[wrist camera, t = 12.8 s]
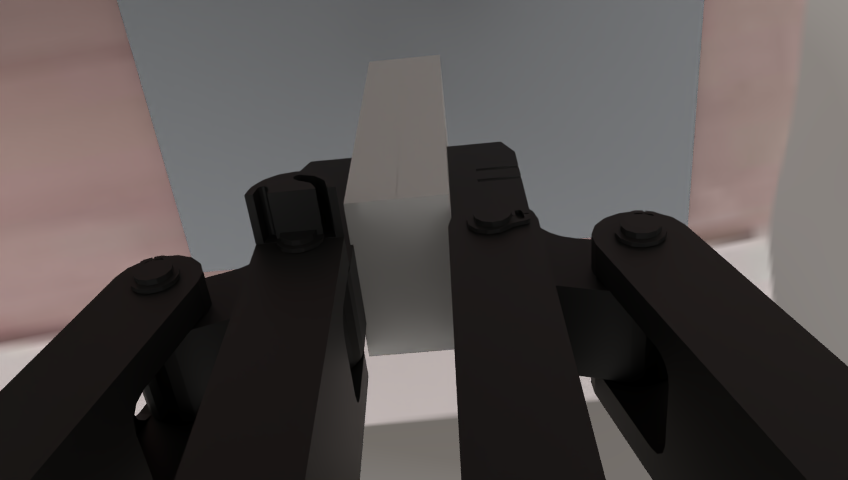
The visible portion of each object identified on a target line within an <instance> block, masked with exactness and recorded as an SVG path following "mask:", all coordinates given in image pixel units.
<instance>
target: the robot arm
mask: <svg viewBox="0 0 848 480" xmlns="http://www.w3.org/2000/svg"><path fill="white" fill-rule="evenodd" d="M244 197H245V201H246V205H247V209H248V214H249V218H250V222H251V226H252V231H253V235H254V239H255V243H256V246H255V249H254V252H253V255H252V258H251V260H250V263H249V264H248V265H246V266H244V267H242V268H239V269H236V270H232V271H229V272H226V273H222V274H218V275H214V276H211V277H207V278H205V277H204V273H203V269H202V266H201V263H199V262H198V261H196V260H195V259H193V258H191V257H185V256H180V255H175V256H157V257H154V259H152V258H149V259H146V260H143V261H141V262H140V263H138V264H136V265H134V266H132V267H130V268H127V269H126V270H125V271H123V272H122V273H121V274H119V275H118V276H117V277H115V278H114V279H113V280H112V281H111V282H110V283H109V284H108V285H107V286H106V287H105V288H104V289H103V290H102V291H101V292H100V293H99V294H98V295H97V296H96V297H95V298H94V299H93V300H92V301H91V302H90V303H89V304H88V305H87V306H86V307H85V308H84V309H83V310H82V311H81V312H80V313H79V314H78V315H77V316H76V317H75V318H74V319H73V320H72V321H71V322H70V323H69V324H68V325H67V326H66V327H65V328H64V329H63V330H62V331H61V332H60V333H59V334H58V335H57V336H56V337H55V338H54V339H53V340H52V341H51V342H50V343H49V344H48V345H47V346H46V347H45V348H44V349H43V350H42V351H41V352H40V353H39V354H38V355H37V356H36V357H35V358H33V359H32V360H31V361H30V362H29V363H28V364H27V365H26V366H25V367H24V368H23V369H22V370H21V371H20V372H19V373H18V374H17V375H16V376H15V377H14V378H13V379H12V380H11V381H10V382H9V383H8V384H7V385H6V386H5V387H4V388H3V389H2V390H1V391H0V480H360V471H361V459H362V447H363V435H364V423H365V411H366V399H367V387H368V371H367V366H366V360H365V354H364V345H365V335H366V340H367V345H368V351H369V356H379V355H391V354H404V353H416V352H428V351H440V350H452V349H455V368H456V386H457V405H458V424H459V441H460V442H459V443H460V461H461V480H606V479H605V475H604V471H603V467H602V463H601V460H600V456H599V452H598V448H597V444H596V440H595V437H594V432H593V429H592V425H591V421H590V417H589V413H588V409H587V405H586V401H585V398H584V394H583V390H582V386H581V382H580V378H579V376H585V377H591V383H592V386H593V389H594V392H595V394H596V396H597V397H598V399H599V400H600V402H601V403H602V405H603V406H604V408H605V409H606V411H607V412H608V414H609V415H610V417H611V418H612V419H613V421H614V423H615V424H616V425H617V427H618V429H619V430H620V432H621V433H622V435H623V436H624V437H625V439H626V440H627V442H628V444H629V445H630V447H631V448H632V449H633V451H634V453H635V454H636V456H637V457H638V458H639V460H640V461H641V463H642V465H643V466H644V468H645V469H646V470H647V472H648V473H649V475H650V476H651V478H652V479H653V480H848V366H846V365H845V363H843V362H842V361H841V360H840V359H839V358H838V357H836V356H835V355H834V354H833V353H832V352H831V351H830V350H828V349H827V348H826V347H825V346H824V345H823V344H822V343H820V342H819V341H818V340H817V339H816V338H815V337H814V336H812V335H811V334H810V333H809V332H808V331H807V330H806V329H804V328H803V327H802V326H801V325H800V324H799V323H797V322H796V321H795V320H794V319H793V318H792V317H791V316H789V315H788V314H787V313H786V312H785V311H784V310H783V309H781V308H780V307H779V306H778V305H777V304H776V303H775V302H773V301H772V300H771V299H770V298H769V297H768V296H766V295H765V294H764V293H763V292H762V291H761V290H760V289H758V288H757V287H756V286H755V285H754V284H753V283H752V282H750V281H749V280H748V279H747V278H746V277H745V276H744V275H742V274H741V273H740V272H739V271H738V270H737V269H736V268H734V267H733V266H732V265H731V264H730V263H729V262H727V261H726V260H725V259H724V258H723V257H722V256H721V255H719V254H718V253H717V252H716V251H715V250H714V249H713V248H711V247H710V246H709V245H708V244H707V243H706V242H705V241H703V240H702V239H701V238H700V237H699V236H698V235H697V234H695V233H694V232H693V231H692V230H691V229H690V228H688V227H687V226H686V225H685V224H683V223H682V222H680V221H678V220H677V219H675V218H673V217H671V216H667V215H663V214H660V213H656V212H654V211H646V210H645V212H644V211H643V210H634V211H631V212H623V213H618V214H615V215H612V216H609V217H606V218H604V219H602V220H601V221H600V222H598V223H597V224H596V225H595V226H594V229H593V231H592V234H591V240H590V239H578V238H571V237H564V236H560V235H556V234H553V233H550V232H548V231H546V230H544V229H542V228H541V227H540V223H539V219H538V218H537V216H536V215H535V213H534V212H533V211H532V210H530V209H529V206H528V202H527V198H526V194H525V190H524V186H523V182H522V178H521V174H520V170H519V167H518V162H517V158H516V154H515V151H513V150H512V149H510V148H509V147H508V146H506V145H505V144H504V143H502V142H501V141H500V142H490V143H479V144H469V145H458V146H448V138H447V128H446V117H445V106H444V96H443V85H442V74H441V64H440V55H432V56H422V57H412V58H402V59H392V60H382V61H372V62H369V66H368V72H367V77H366V83H365V88H364V94H363V99H362V105H361V110H360V116H359V121H358V127H357V132H356V138H355V143H354V149H353V154H352V158H343V159H333V160H322V161H312V162H310V163H308V164H307V165H306V166H305V167H304V168H303V169H302V170H300V171H295V172H290V173H284V174H278V175H276V176H273V177H270V178H267V179H264V180H262V181H260V182H259V183H257V184H255V185H254V186H252V187H251V188H250V189H249V190H248V191H247V192H246V194H245V195H244ZM142 392H143V395H144V397H145V400H146V403H147V404H146V405H145V406H144V408H143V409H142V410H141V412H140V413H139V414H138V415H136V416H135V415H134V414H135V408H136V403H137V401H138V399H139V397H140V396H141V394H142Z"/></svg>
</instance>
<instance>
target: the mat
mask: <svg viewBox="0 0 848 480" xmlns="http://www.w3.org/2000/svg"><path fill="white" fill-rule="evenodd" d="M117 2H118V6H119V9H120V13H121V16H122V20H123V23H124V26H125V30H126V33H127V37H128V40H129V44H130V47H131V50H132V54H133V57H134V61H135V64H136V68H137V71H138V75H139V78H140V81H141V85H142V88H143V92H144V95H145V99H146V102H147V106H148V109H149V112H150V116H151V119H152V123H153V126H154V130H155V133H156V136H157V140H158V143H159V147H160V150H161V154H162V157H163V161H164V164H165V167H166V171H167V174H168V178H169V181H170V185H171V188H172V191H173V195H174V198H175V202H176V205H177V209H178V212H179V216H180V219H181V222H182V226H183V229H184V233H185V236H186V240H187V243H188V247H189V250H190V253H191V257H192V258H193V259H195V260H196V261H198V262H199V263H201V266H202V269H203V272H210V271H221V270H232V269H239V268H242V267H244V266H246V265H248V264H249V263H250V260H251V258H252V255H253V252H254V249H255V246H256V243H255V239H254V235H253V231H252V226H251V222H250V218H249V214H248V209H247V205H246V201H245V197H244V195H245V194H246V192H247V191H248V190H249V189H250V188H251V187H252V186H254V185H255V184H257V183H259V182H260V181H262V180H264V179H267V178H270V177H273V176H276V175H278V174H284V173H290V172H295V171H300V170H302V169H303V168H304V167H305V166H306V165H307V164H308V163H310V162H312V161H322V160H333V159H343V158H352V154H353V149H354V143H355V138H356V132H357V127H358V121H359V116H360V110H361V105H362V99H363V94H364V88H365V83H366V77H367V72H368V66H369V62H372V61H382V60H392V59H402V58H412V57H422V56H432V55H440V64H441V74H442V85H443V96H444V106H445V117H446V128H447V138H448V146H458V145H469V144H479V143H490V142H500V141H501V142H502V143H504V144H505V145H506V146H508V147H509V148H510V149H512V150H513V151H515V154H516V158H517V162H518V167H519V170H520V174H521V178H522V182H523V186H524V190H525V194H526V198H527V202H528V206H529V209H530V210H532V211H533V212H534V213H535V215H536V216H537V218H538V219H539V223H540V227H541V228H542V229H544V230H546V231H548V232H550V233H553V234H556V235H560V236H564V237H571V238H589V237H591V234H592V231H593V229H594V226H595V225H596V224H597V223H598V222H600V221H601V220H602V219H604V218H606V217H609V216H612V215H615V214H618V213H623V212H631V211H634V210H643V211H644V212H645V210H646V211H654V212H656V213H660V214H663V215H667V216H671V217H673V218H675V219H677V220H678V221H680V222H682V223H683V224H685V225H686V226H687V227H688V214H689V200H690V187H691V173H692V159H693V146H694V132H695V118H696V105H697V91H698V77H699V64H700V50H701V37H702V23H703V9H704V0H117Z"/></svg>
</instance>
